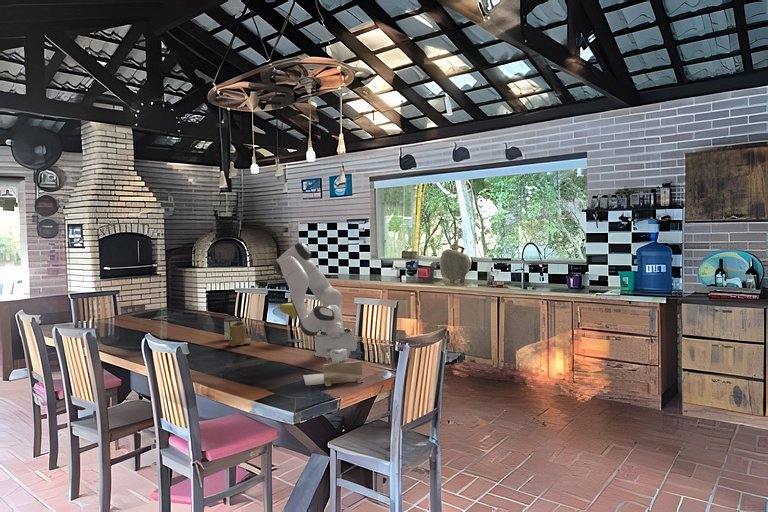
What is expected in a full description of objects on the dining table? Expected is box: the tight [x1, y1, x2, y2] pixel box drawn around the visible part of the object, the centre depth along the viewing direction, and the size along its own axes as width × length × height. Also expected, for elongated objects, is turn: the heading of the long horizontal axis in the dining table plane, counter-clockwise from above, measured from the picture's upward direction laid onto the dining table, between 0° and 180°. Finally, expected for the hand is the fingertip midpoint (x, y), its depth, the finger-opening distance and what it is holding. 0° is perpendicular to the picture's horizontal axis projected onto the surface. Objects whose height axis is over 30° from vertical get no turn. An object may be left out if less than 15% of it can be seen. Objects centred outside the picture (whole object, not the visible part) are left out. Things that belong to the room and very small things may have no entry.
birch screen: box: [322, 360, 364, 387], centre depth 244 cm, size 5×18×9 cm, turn 103°
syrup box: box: [330, 348, 348, 364], centre depth 250 cm, size 6×6×14 cm
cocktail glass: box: [278, 301, 309, 343], centre depth 339 cm, size 18×18×25 cm
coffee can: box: [223, 317, 241, 340], centre depth 351 cm, size 10×10×14 cm
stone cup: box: [227, 321, 252, 347], centre depth 332 cm, size 15×12×15 cm
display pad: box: [302, 373, 325, 386], centre depth 250 cm, size 14×10×1 cm
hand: (337, 358), depth 251 cm, fingers open, 8 cm apart
